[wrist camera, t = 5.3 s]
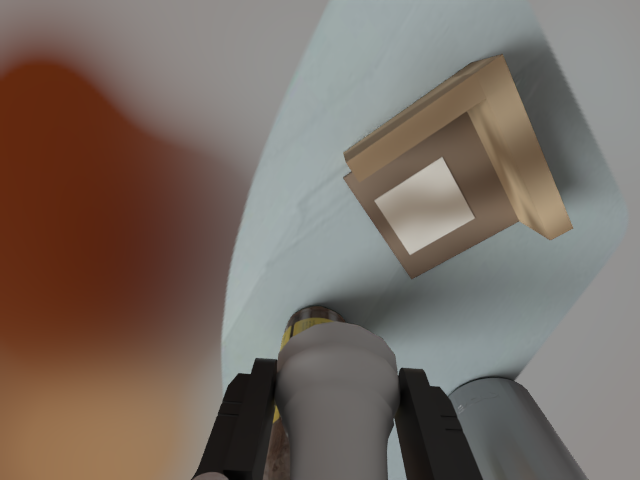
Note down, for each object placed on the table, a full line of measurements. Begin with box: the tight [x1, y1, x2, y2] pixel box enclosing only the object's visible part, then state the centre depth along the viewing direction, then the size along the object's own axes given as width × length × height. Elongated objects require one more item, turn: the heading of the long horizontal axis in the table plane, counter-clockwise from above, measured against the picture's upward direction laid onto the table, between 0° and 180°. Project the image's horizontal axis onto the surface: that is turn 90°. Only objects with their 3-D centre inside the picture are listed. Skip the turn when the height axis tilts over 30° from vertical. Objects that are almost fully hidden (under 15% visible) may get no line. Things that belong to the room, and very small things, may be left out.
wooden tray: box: [343, 54, 573, 279], centre depth 21 cm, size 12×11×4 cm
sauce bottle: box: [263, 306, 346, 480], centre depth 20 cm, size 6×6×20 cm
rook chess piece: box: [274, 321, 401, 480], centre depth 8 cm, size 4×4×8 cm
